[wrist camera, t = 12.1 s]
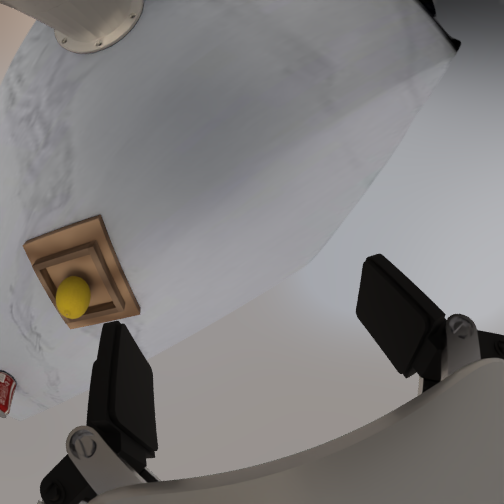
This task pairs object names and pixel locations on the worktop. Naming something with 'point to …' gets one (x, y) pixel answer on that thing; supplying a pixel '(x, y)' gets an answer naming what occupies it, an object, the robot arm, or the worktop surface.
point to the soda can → (6, 393)
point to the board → (84, 270)
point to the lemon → (73, 297)
